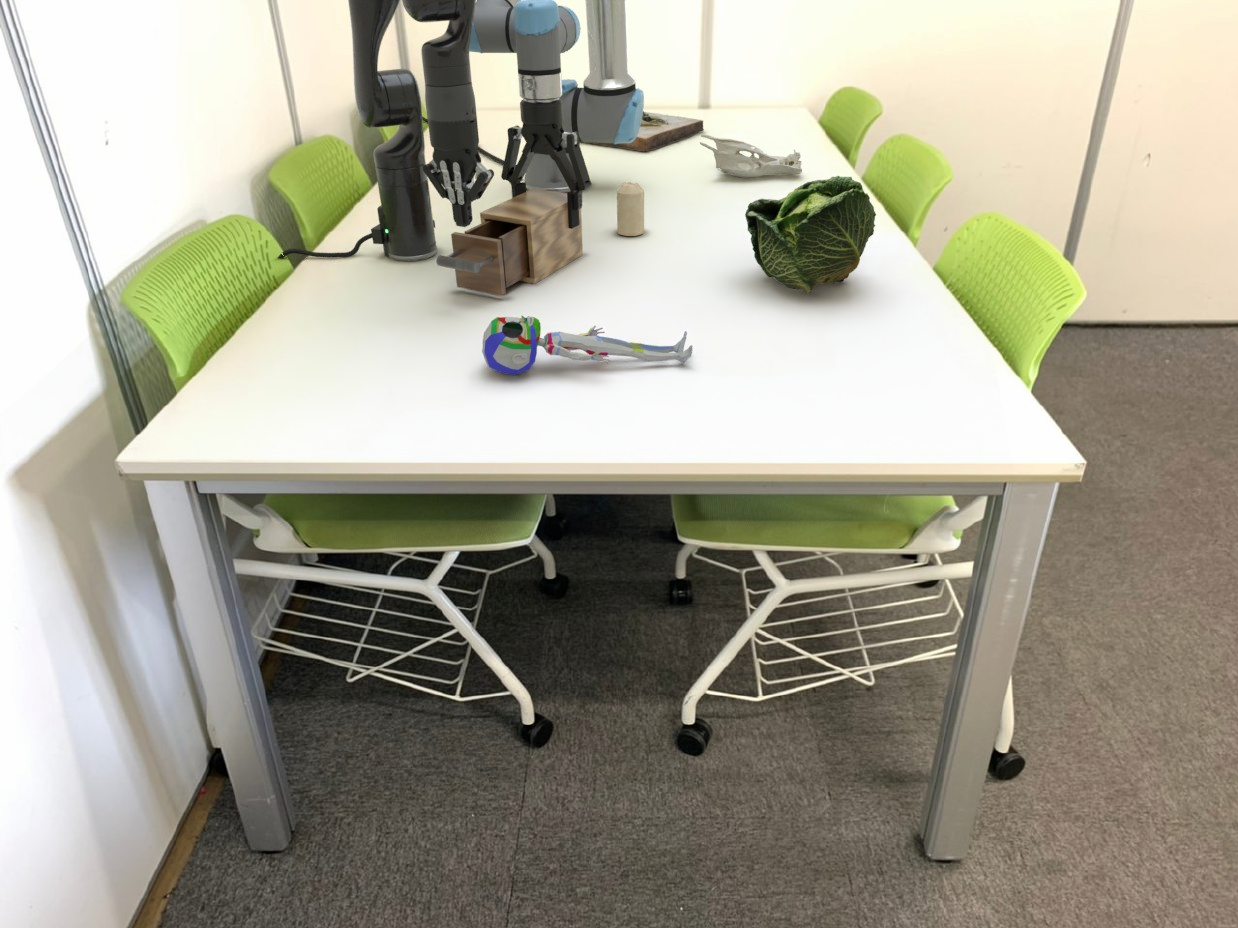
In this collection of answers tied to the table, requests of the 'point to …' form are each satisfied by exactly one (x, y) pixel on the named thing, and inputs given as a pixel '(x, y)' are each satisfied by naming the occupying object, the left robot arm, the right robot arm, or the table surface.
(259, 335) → the table surface
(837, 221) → the vegetable
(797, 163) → the anatomical model
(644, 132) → the plaque
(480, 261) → the drawer
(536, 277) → the cabinet
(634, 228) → the candle
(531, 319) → the toy
